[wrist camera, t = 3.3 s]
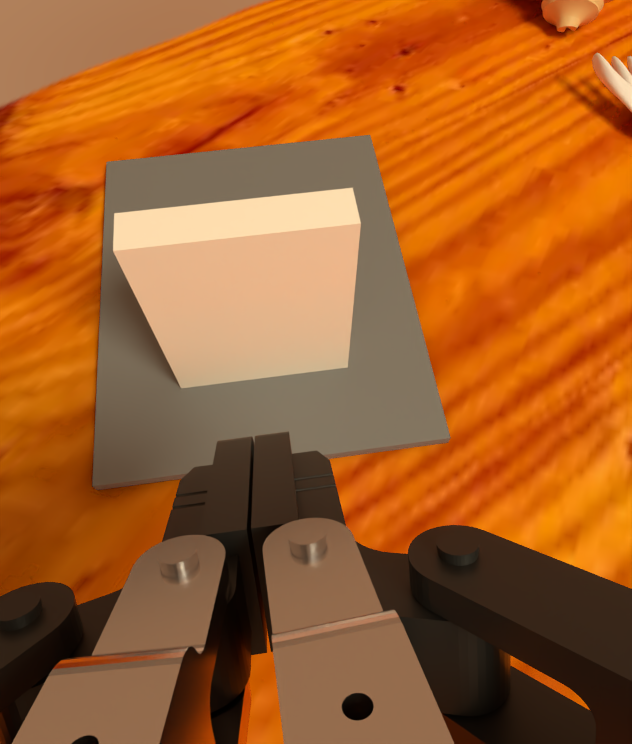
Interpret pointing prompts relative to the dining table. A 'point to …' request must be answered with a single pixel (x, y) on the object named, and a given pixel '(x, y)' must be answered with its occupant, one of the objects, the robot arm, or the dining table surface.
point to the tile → (246, 283)
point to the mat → (273, 394)
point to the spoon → (615, 77)
